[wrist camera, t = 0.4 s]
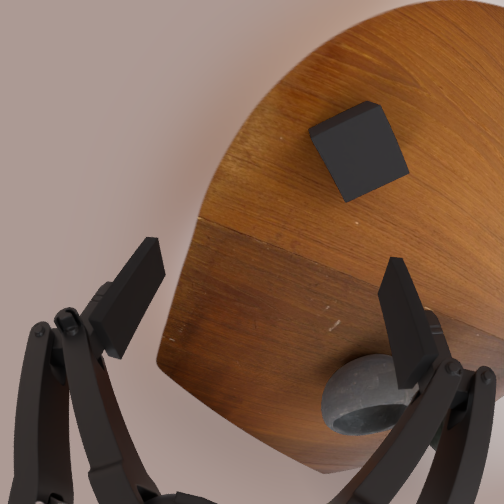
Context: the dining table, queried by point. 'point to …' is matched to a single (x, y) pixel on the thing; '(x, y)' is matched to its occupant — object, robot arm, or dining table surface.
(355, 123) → the black block
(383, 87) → the dining table surface
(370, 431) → the bowl
